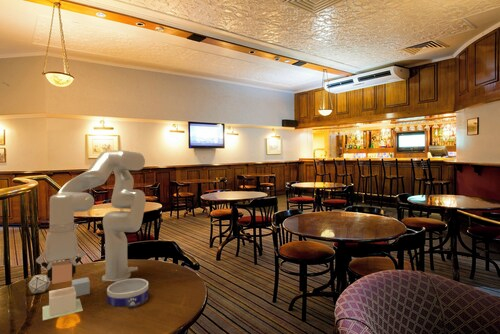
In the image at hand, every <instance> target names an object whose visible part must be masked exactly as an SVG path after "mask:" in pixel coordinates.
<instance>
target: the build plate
mask: <svg viewBox="0 0 500 334" xmlns="http://www.w3.org/2000/svg"><path fill="white" fill-rule="evenodd" d="M83 311H84V309H83V307H82V302H81V300H80V298H76V310H74V311H70V312H65V313H61V314H57V315H53V316H50V314H49V304H48V305H44V306H42V321H46V320H51V319H54V318H59V317H63V316H67V315H71V314H75V313H79V312H83Z"/></svg>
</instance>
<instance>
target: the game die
mask: <svg viewBox="0 0 500 334" xmlns="http://www.w3.org/2000/svg"><path fill="white" fill-rule="evenodd" d="M32 275H33V277H32V278H31V279H30V281H29V282H28V284H27V283H26V284H25V286H27V287H28V289H29V291H30V292H31V294H30V296H32V295H34V294H41V293H44V294H46V291H47V289H48V288H49V286H50V285H51V284H52V281H50V278H47V272H46V274H37V275H36V274H34V273H33V274H32Z"/></svg>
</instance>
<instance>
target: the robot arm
mask: <svg viewBox="0 0 500 334" xmlns="http://www.w3.org/2000/svg"><path fill="white" fill-rule="evenodd" d="M145 164H146V159H145V156H144V155H143V154H142V153H140V152H136V151H129V150H105V151H102V152H101V153H100V154H99V155H98V156H97V158H96V159H94V162H93V163H92V164H91V165H90V166H89V168H88V169H87V170H86V171H84V172H82V173H80V174H79V175H77V176H75V177H73V178H72V179H70V180H69V181H67V182H66V183H64V185H63V186H62V187H61V188H60V189H59V191H58V192H57V193H56V194H54V195H51V196H50V198H49V232H47V233H46V237H45V244H44V245H45V246H44V251H43V252H42V253H41V254H40V256H38V257H37V258H36V259H35V262H36V263H37V264H40V265H41V266H42V267H43V268H45V269H46V271H47V272H46V273H47V278H49V280H50V282H52V264H53V262H59V261H66V260H71V262H72V278H74V275H75V274H77V273H76V272H77V271H76V268H77V267H76V266H77V265H78V263H79V262H80V261H81V260H82V259H83V258H84V257H85V256H86V254H87V253H86V252H85V251H84V250H83V249H81V248H80V247H79V245H78V244H79V243H78V236H77V235H78V233H77V230H75V229H76V228H79V223H75V213H85V212H88V211H90V210H91V209H92V208H93V206H94V205H95V198H94V197H93V195H92V194H90V193H88V192H85V191H86V190H90V189H94V188H96V187H99V186H101V185H104V184H105V183H106V182H107V180H108V179H109V177H110V175H111V174H112V173H113V174H114V177H115V182H114V185H113V189H112V190H113V191H112V195H111V199H110V201H111V202H110V203H111V204H110V205H111V206H112V207H113V208H115V209H119V210H114V211H109V212H107V213H106V214H105V215H104V216H103V218H102V227H103V231H104V242H105V245H104V247H105V248H104V249H105V250H104V254H105V256H104V257H105V258H104V261H105V264H104V267H105V268H104V269H105V274H103V275H102V277H101V281H102V282H112V283H115V282H118V281H121V280H126V279H131V275H132V274H131V273H132V272H138V271H139V269H138V266H128V238H127V236H126V233H136V232H138V231H139V230H140V228H141V226H142V223H143V218H144V214H145V207H146V199H147V198H146V194H145V192H144V191H143V190H140V189H133V188H134V182H135V181H134V177H133V175H132V174H131V173H130V171H140V170H142V169H143V168H144V167H145ZM121 210H126V211H121ZM127 210H129V211H127ZM43 259H45V260H43Z"/></svg>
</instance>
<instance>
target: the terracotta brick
mask: <svg viewBox="0 0 500 334" xmlns="http://www.w3.org/2000/svg"><path fill="white" fill-rule="evenodd" d="M72 280H73V277H72V262H71V260H70V259H66V260H59V261H54V262H53V264H52V281H51V282H52V283H51V284H52V285H55V284H59V283H64V282H65V283H66V282H72Z"/></svg>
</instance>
